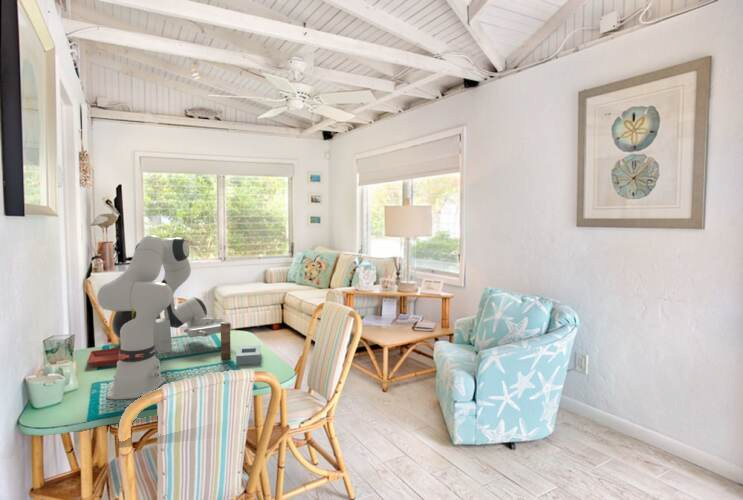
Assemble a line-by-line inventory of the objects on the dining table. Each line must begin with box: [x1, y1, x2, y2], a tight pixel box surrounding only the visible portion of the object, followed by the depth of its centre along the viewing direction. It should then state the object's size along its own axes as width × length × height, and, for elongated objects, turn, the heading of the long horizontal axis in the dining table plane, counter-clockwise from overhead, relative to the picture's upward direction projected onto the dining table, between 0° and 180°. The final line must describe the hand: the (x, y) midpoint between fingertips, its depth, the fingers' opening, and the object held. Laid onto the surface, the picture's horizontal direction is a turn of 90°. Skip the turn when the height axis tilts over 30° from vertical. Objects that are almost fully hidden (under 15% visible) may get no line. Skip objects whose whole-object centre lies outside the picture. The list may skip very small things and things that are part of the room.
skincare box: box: [153, 317, 173, 354], centre depth 213 cm, size 8×6×15 cm
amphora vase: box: [111, 311, 161, 347], centre depth 222 cm, size 22×22×28 cm
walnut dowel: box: [220, 321, 232, 361], centre depth 202 cm, size 4×4×16 cm
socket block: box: [235, 345, 261, 366], centre depth 202 cm, size 14×10×4 cm
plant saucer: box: [86, 347, 121, 368], centre depth 199 cm, size 18×18×3 cm
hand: (215, 332), depth 210 cm, fingers open, 8 cm apart
